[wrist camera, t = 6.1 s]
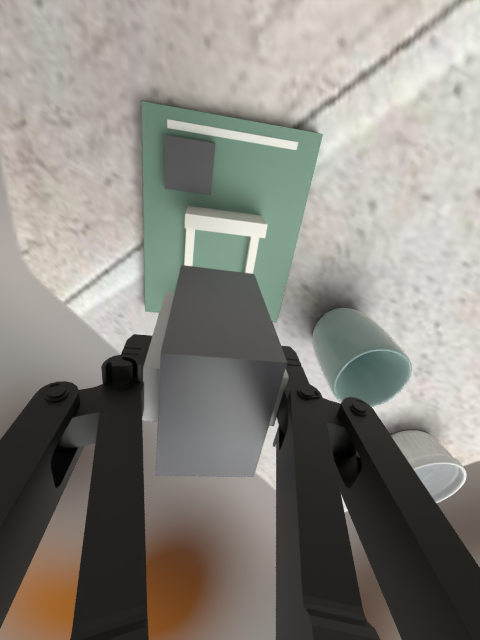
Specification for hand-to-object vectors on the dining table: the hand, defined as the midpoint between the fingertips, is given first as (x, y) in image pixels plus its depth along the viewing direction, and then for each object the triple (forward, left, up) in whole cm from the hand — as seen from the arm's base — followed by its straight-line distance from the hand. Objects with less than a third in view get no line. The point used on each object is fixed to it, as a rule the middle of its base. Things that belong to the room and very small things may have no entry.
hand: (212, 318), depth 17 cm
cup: (+9, +16, -16) cm, 25 cm away
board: (-1, +1, -16) cm, 16 cm away
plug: (0, 0, 0) cm, 0 cm away
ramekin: (+33, +36, -16) cm, 52 cm away
